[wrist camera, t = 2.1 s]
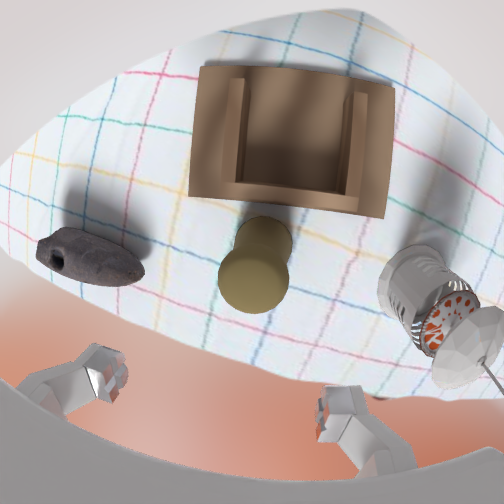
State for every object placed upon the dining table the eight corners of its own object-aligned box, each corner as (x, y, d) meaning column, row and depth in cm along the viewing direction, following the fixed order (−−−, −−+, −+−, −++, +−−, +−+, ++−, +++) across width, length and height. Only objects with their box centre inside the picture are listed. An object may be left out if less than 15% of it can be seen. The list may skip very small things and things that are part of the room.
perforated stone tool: (156, 248, 31) (126, 269, 24) (151, 287, 32) (123, 314, 26) (65, 216, 31) (30, 228, 25) (64, 252, 33) (31, 268, 26)
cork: (231, 218, 29) (200, 248, 18) (290, 214, 28) (293, 242, 17) (238, 273, 30) (213, 327, 20) (293, 270, 29) (296, 325, 19)
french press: (411, 227, 26) (594, 360, 3) (465, 279, 27) (589, 401, 3) (360, 297, 30) (444, 507, 6) (419, 338, 30) (500, 492, 6)
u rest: (391, 90, 22) (412, 76, 17) (380, 217, 27) (400, 228, 21) (203, 69, 24) (185, 51, 19) (191, 195, 28) (171, 201, 23)
